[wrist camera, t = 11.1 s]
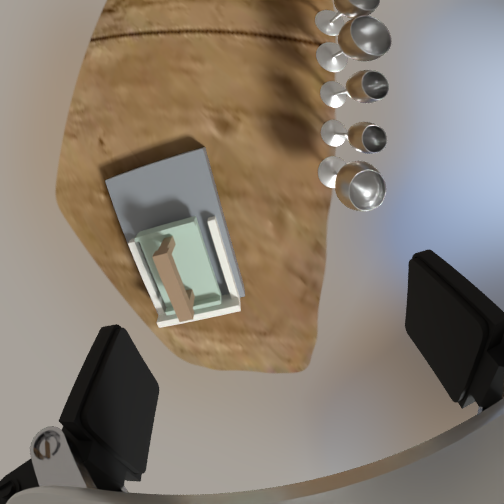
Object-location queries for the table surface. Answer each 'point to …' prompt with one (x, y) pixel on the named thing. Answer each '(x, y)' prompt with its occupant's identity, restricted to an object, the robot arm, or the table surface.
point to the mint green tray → (180, 267)
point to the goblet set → (360, 89)
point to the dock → (174, 209)
